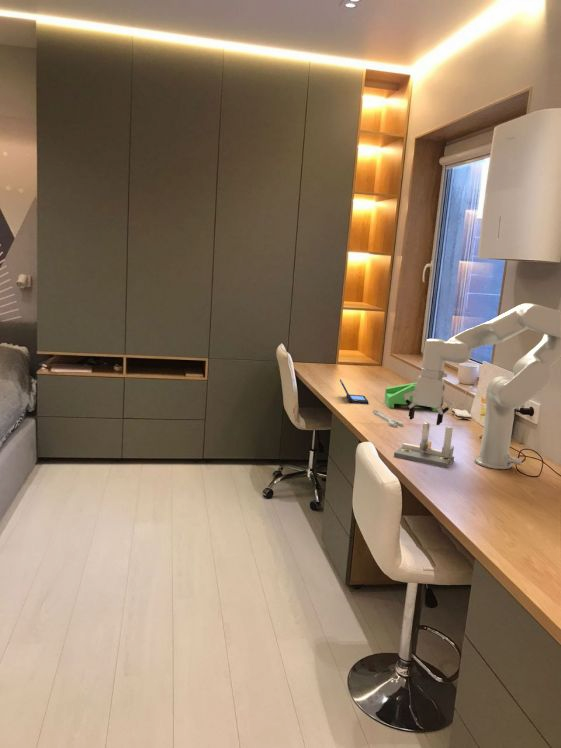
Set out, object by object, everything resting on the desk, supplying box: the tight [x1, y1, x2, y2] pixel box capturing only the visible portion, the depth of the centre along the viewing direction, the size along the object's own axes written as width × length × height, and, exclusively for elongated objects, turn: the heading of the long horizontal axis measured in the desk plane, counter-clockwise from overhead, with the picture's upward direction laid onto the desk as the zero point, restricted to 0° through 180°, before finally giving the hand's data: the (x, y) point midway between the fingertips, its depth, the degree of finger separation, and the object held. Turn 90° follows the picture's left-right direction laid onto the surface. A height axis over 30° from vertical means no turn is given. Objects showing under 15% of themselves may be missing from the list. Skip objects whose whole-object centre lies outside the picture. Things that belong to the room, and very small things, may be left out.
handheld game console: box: [339, 379, 369, 405], centre depth 312 cm, size 16×13×9 cm
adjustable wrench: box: [372, 409, 404, 428], centre depth 277 cm, size 25×6×2 cm, turn 11°
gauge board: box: [393, 425, 455, 469], centre depth 222 cm, size 19×10×13 cm, turn 62°
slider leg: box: [419, 421, 432, 453], centre depth 224 cm, size 3×6×11 cm, turn 152°
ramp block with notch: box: [384, 382, 439, 412], centre depth 306 cm, size 24×13×12 cm, turn 89°
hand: (424, 421), depth 221 cm, fingers open, 9 cm apart
